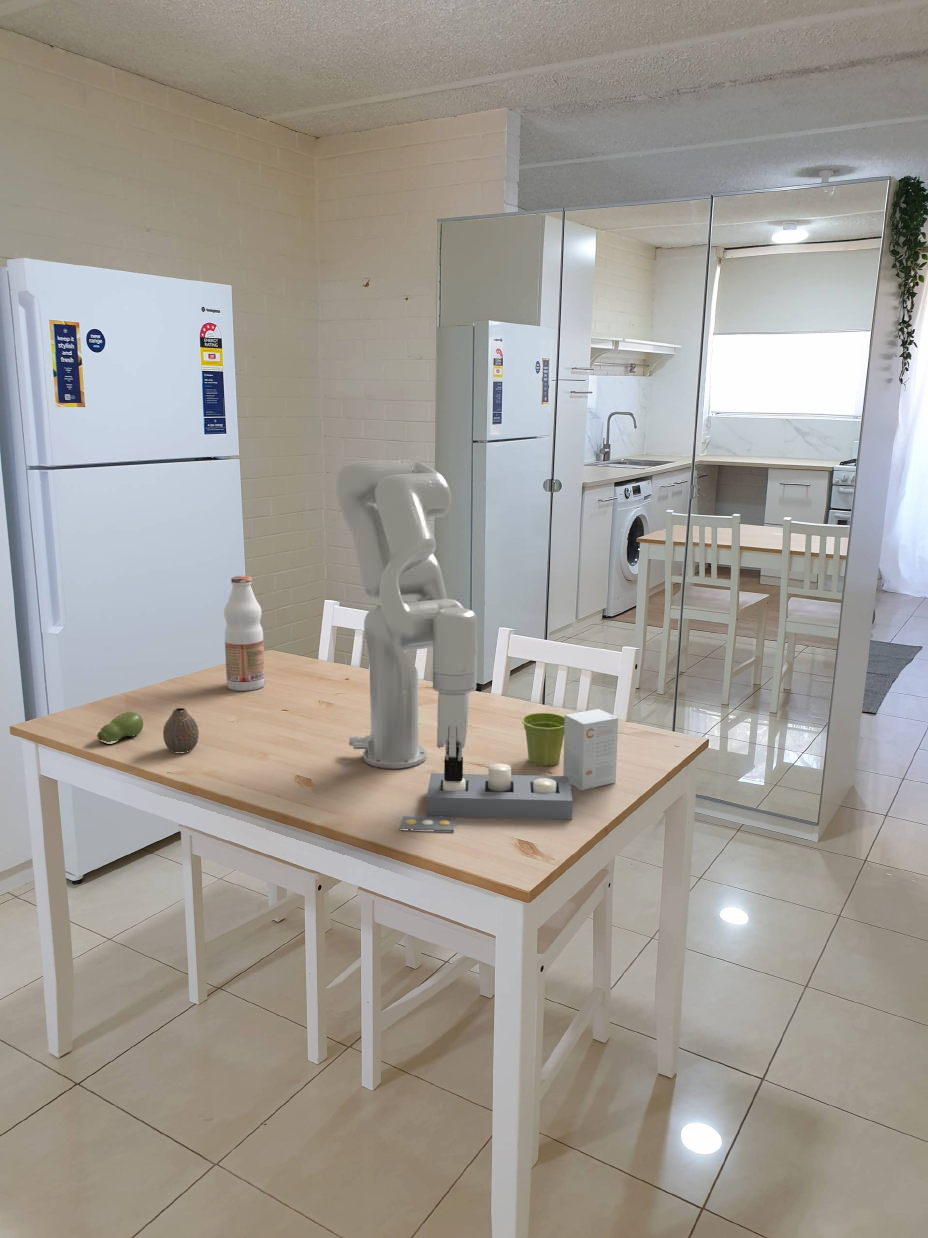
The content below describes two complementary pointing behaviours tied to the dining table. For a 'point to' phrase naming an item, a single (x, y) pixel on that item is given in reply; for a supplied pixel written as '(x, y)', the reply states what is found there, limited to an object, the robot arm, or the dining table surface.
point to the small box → (590, 748)
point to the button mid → (499, 777)
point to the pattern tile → (428, 823)
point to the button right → (544, 786)
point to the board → (500, 799)
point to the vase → (180, 731)
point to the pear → (121, 727)
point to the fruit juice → (243, 638)
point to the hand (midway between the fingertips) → (453, 779)
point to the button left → (454, 785)
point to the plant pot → (544, 737)
